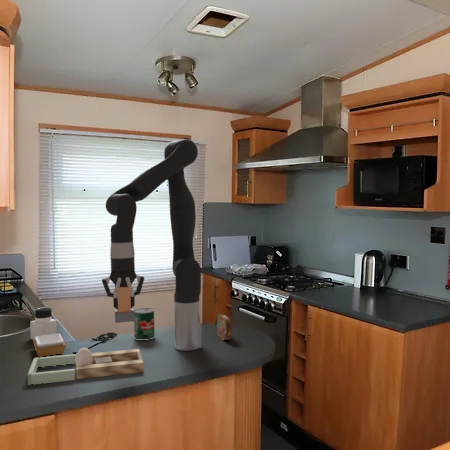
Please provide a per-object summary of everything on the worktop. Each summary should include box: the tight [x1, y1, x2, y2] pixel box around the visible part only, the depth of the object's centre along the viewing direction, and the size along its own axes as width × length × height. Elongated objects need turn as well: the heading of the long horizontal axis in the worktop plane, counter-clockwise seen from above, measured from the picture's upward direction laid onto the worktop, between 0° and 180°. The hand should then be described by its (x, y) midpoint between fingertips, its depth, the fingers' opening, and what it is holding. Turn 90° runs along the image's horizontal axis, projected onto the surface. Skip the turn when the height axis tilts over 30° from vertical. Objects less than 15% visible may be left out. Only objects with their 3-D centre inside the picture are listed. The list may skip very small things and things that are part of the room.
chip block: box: [95, 357, 112, 364], centre depth 148 cm, size 5×5×3 cm
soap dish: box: [32, 333, 66, 358], centre depth 165 cm, size 12×10×5 cm
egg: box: [75, 347, 92, 367], centre depth 147 cm, size 5×5×7 cm
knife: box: [91, 331, 118, 342], centre depth 174 cm, size 25×6×1 cm, turn 154°
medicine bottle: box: [29, 306, 58, 340], centre depth 181 cm, size 7×7×12 cm
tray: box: [26, 353, 77, 386], centre depth 144 cm, size 13×15×3 cm
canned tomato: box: [133, 307, 156, 339], centre depth 180 cm, size 8×8×11 cm
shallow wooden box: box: [75, 348, 144, 380], centre depth 149 cm, size 20×14×3 cm
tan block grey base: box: [114, 287, 135, 324], centre depth 149 cm, size 6×6×11 cm
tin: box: [214, 313, 233, 341], centre depth 181 cm, size 15×3×8 cm, turn 16°
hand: (124, 308), depth 150 cm, fingers closed on tan block grey base, 4 cm apart
